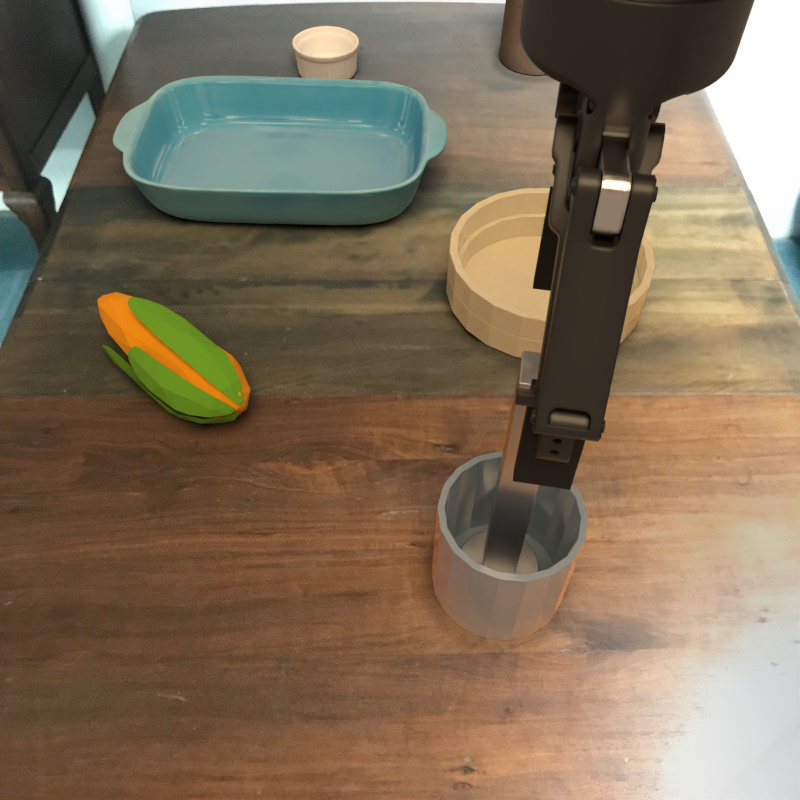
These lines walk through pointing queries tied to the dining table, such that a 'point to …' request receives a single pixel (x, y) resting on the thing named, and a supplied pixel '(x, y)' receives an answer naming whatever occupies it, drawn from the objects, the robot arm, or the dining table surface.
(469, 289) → the bowl
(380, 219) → the casserole dish
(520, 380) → the silver disc tamper
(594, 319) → the robot arm
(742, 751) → the dining table surface
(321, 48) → the ramekin
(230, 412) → the corn
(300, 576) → the dining table surface
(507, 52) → the pillar candle
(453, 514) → the crock
